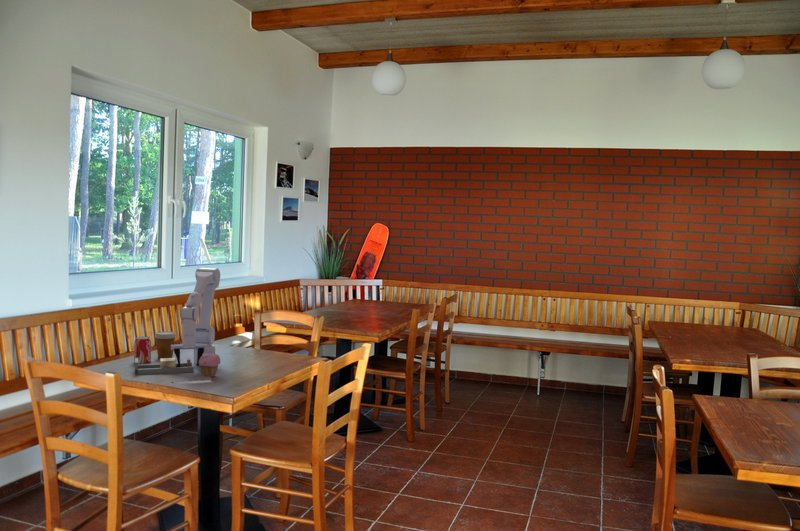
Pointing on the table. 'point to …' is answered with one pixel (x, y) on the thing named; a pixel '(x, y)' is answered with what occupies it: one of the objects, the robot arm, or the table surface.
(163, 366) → the block
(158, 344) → the disposable coffee cup
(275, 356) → the table surface
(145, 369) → the lane
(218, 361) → the cupcake
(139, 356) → the soda can
